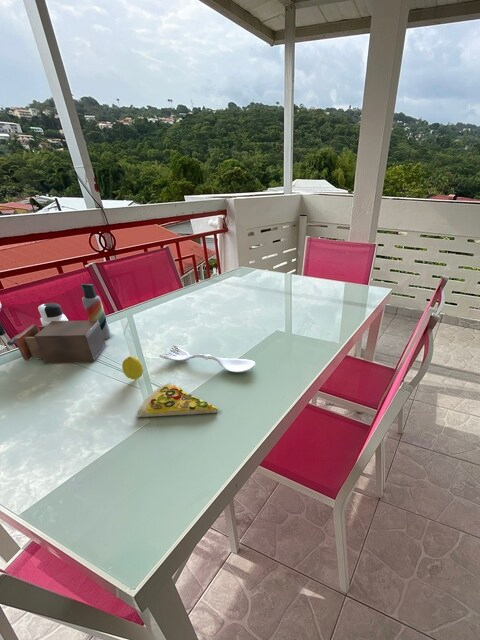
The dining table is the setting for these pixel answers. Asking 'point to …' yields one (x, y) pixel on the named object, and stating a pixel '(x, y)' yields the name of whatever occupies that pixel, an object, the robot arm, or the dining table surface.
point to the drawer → (28, 343)
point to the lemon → (132, 368)
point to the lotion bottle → (95, 308)
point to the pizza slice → (173, 403)
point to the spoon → (227, 364)
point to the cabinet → (71, 341)
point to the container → (51, 313)
